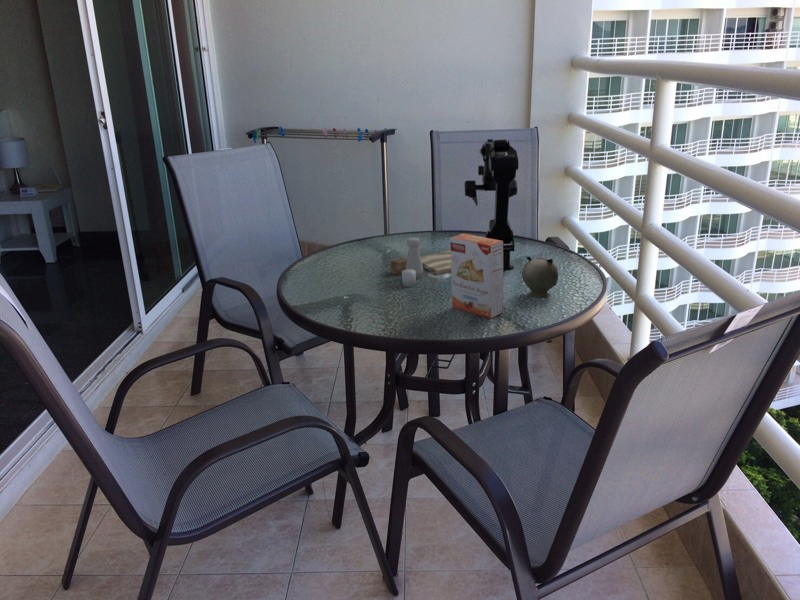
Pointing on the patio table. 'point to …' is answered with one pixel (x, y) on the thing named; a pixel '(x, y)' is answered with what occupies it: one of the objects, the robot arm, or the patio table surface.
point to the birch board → (437, 262)
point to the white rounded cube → (409, 277)
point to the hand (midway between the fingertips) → (489, 204)
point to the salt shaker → (414, 256)
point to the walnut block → (398, 265)
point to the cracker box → (477, 274)
